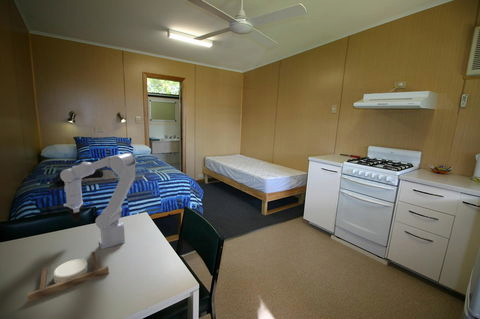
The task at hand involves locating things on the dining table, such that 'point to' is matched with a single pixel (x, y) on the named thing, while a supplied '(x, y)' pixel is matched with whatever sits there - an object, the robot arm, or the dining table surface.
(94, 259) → the walnut bay
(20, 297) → the dining table surface
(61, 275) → the white round dish
